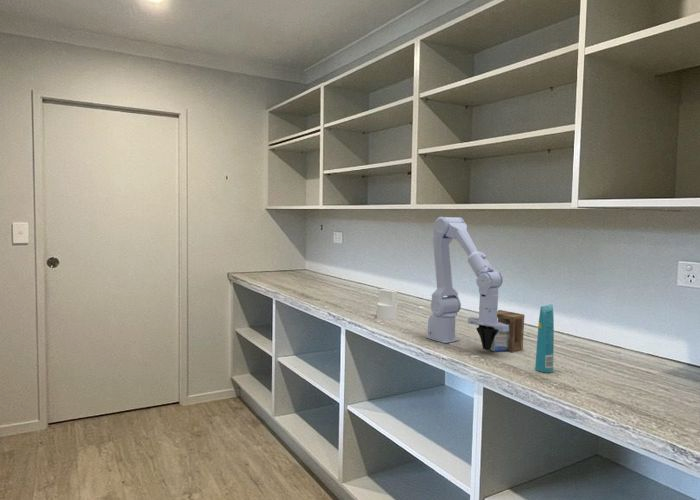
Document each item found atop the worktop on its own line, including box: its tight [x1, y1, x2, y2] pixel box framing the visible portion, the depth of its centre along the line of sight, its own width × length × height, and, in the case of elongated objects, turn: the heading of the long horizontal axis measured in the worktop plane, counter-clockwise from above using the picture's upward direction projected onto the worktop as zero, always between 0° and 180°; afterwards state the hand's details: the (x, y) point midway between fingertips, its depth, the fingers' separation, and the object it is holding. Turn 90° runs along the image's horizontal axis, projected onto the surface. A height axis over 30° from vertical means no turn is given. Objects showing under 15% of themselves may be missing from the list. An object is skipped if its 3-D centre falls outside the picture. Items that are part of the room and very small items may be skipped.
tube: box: [534, 303, 555, 373], centre depth 142 cm, size 7×5×19 cm, turn 139°
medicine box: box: [489, 323, 510, 352], centre depth 164 cm, size 8×4×9 cm, turn 112°
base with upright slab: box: [376, 288, 399, 321], centre depth 212 cm, size 9×9×12 cm
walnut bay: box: [497, 309, 525, 353], centre depth 166 cm, size 9×6×12 cm
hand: (486, 349), depth 160 cm, fingers closed
